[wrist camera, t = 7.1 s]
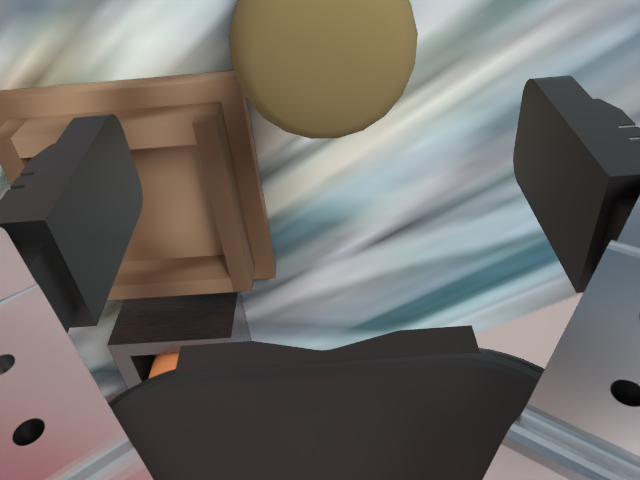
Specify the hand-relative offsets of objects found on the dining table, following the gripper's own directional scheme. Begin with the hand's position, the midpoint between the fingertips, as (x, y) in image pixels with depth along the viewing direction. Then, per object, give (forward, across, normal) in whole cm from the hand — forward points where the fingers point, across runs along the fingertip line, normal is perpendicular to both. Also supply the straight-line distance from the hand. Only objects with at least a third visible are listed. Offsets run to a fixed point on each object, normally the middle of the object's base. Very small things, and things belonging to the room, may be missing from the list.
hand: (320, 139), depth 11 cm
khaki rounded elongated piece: (+15, 0, 0) cm, 15 cm away
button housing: (+15, +10, +21) cm, 28 cm away
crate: (+15, +10, +10) cm, 20 cm away
